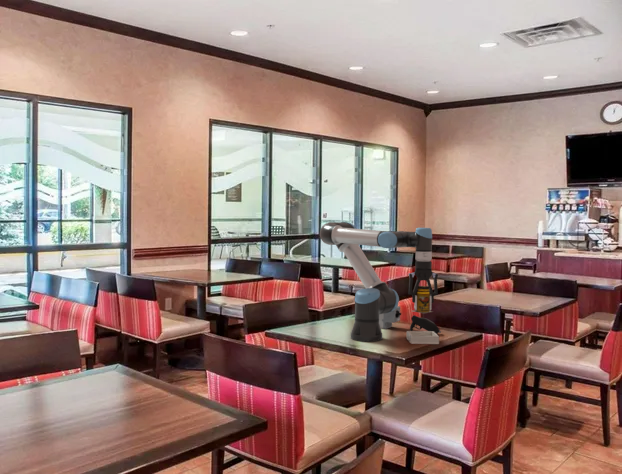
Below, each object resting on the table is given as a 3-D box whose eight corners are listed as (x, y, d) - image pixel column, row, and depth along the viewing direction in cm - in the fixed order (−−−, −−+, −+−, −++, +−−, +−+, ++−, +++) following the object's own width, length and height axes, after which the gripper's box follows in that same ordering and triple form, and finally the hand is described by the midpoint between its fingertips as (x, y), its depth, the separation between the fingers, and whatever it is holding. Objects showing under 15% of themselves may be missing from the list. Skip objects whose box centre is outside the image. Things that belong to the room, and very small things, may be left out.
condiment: (424, 313, 270) (425, 287, 270) (409, 311, 276) (409, 285, 276) (433, 311, 275) (434, 286, 275) (418, 309, 281) (419, 284, 281)
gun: (434, 345, 293) (443, 328, 293) (405, 330, 293) (415, 312, 293) (432, 344, 296) (442, 327, 296) (404, 329, 296) (414, 311, 296)
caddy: (410, 343, 271) (411, 336, 271) (406, 338, 283) (406, 330, 283) (438, 344, 272) (439, 336, 271) (433, 338, 284) (433, 331, 283)
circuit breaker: (396, 330, 302) (397, 301, 302) (371, 327, 310) (372, 298, 309) (402, 328, 309) (403, 299, 308) (377, 325, 316) (378, 297, 316)
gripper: (404, 260, 272) (403, 310, 272) (445, 261, 271) (444, 311, 272) (402, 259, 279) (401, 308, 280) (442, 260, 279) (441, 308, 279)
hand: (422, 309), depth 276 cm, fingers closed on condiment, 6 cm apart
